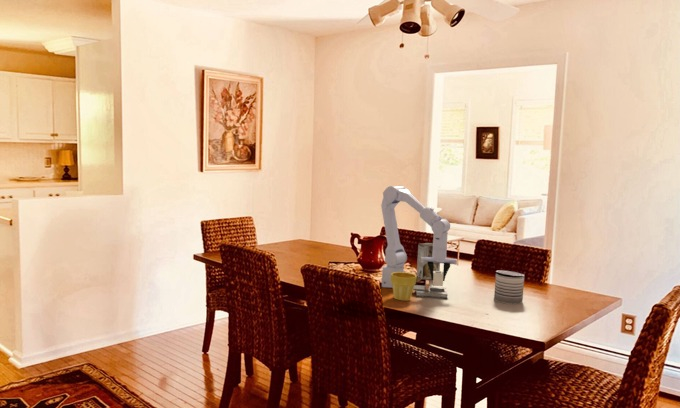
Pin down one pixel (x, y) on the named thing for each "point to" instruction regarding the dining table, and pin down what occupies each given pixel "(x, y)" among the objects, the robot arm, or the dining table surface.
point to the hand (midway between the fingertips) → (437, 280)
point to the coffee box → (422, 267)
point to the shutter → (422, 287)
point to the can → (509, 287)
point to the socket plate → (433, 293)
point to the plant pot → (403, 285)
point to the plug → (437, 278)
